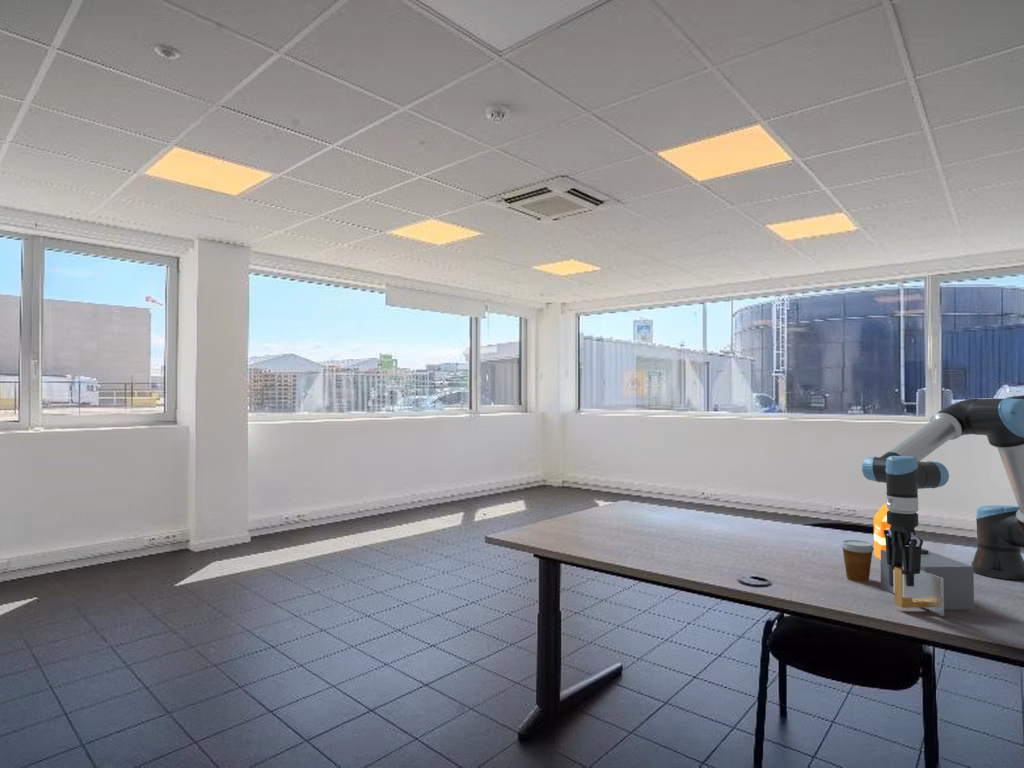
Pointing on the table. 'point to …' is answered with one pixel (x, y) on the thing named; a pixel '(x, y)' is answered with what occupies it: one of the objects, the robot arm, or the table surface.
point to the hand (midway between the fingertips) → (903, 594)
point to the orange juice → (880, 530)
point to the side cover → (921, 591)
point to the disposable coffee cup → (857, 559)
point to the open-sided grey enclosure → (952, 572)
